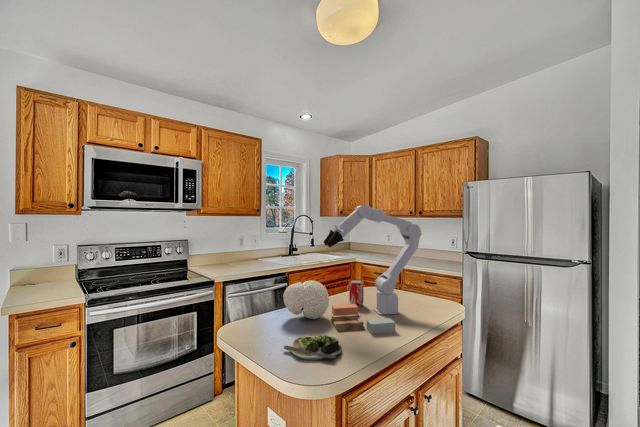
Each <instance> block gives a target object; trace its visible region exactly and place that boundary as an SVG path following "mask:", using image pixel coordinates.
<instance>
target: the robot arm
mask: <svg viewBox="0 0 640 427" xmlns="http://www.w3.org/2000/svg"><path fill="white" fill-rule="evenodd" d="M353 210H354V211H352V213H350V214H348V215H347V217H345V218H344V220H342V221H341V222H340V223H339V224H338V225H336V224H334V228H335V229H334V230H332V229H330V230H329V233H328V235H327V237H325V239H324V241H322V243H323V245H325V246H327V247H328V248H332V247H333V246H334V245H337V244H338V243H341V242H344V241H345V237H346V236H347V235H349V233H350V232H351V231H353V229H354V228H356V227H357V226H358V225H359V224H360V223H361V221H363V219H366V220H367V221H371V222H375V223H379V224H380V223H382V222H385V223H387V224H391V225H393V226H396V227H397V229H398V230H399V232H400V235H401V237H402V238H403V241H404V243H405V244H404V246H403V247H402V249H401V250H400V252H399V253H398V254H397V256H396V257H395V259H394V260H393V262H392V263H391V265H390V266H389V267H388V269H387V270H385V271H384V272H382V273H381V275H379V276H378V277H377V278H376V279H375V280H374V286H375V288H376V307H375V308H373V310H374V311H375V312H376V313H377V314H378V315H380V316H381V315H397V314H399V313H400V312H399V297H398V294H397V293H396V292H394V291H395V288H396V284H397V283H398V279H397V278H398V276H399V275H400V274H401V272H402V271H403V270H404V268H405V266H406V265H407V264H408V262H409V261H410V260H411V258H412V256H413V255H414V254H415V252H416V251H417V250H418V248H419V244H420V239H421V236H422V235H423V233H422V230H421V227H420V226H419V225H418V224H415V223H413V222H411V221H409V220H407V219H403V218H398V217H395V216H391V215H387V214H385V213H384V211H383V210H382V209H381V208H377V209H376V208H374V207H371V206H370V205H364V204H362V205H358V206H356V207H355V208H354V209H353Z"/></svg>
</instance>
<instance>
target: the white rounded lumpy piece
mask: <svg viewBox="0 0 640 427" xmlns="http://www.w3.org/2000/svg"><path fill="white" fill-rule="evenodd" d="M282 297H283V299H282V300H283V303H284V305H285V307H286V308H287V310H288V311H289V312H290V313H291V314H293V315H295V316H297V315H300V314H303V316H304V317H305V318H308V319H310V320H315V319H317V318H318V319H319V318H320V317H322V316H323V315H324V314H326V311H327V309H328V307H329V303H330V296H329V293H328V290H327V288H326V286H324V285H323V284H322V283H321V282H319V281H316V280H312V279H311V280H306V281H304V282H303V283H302V282H301V281H300V282H295V283H292V284H290V285H289V286H287V287H286V289H285V290H284V292H283V294H282Z"/></svg>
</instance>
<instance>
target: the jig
mask: <svg viewBox="0 0 640 427" xmlns="http://www.w3.org/2000/svg"><path fill="white" fill-rule="evenodd" d="M358 316H359V314H358V315H357V314H354V315H338V316H334V315H331V318H330V321H331V323H332V324H333V327H334V328H335V330H336V331H337V332H349V331H351V332H352V331H365V329H366V327H365V326H364V324H365V323H364V321H363V320H360V319H358Z"/></svg>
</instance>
